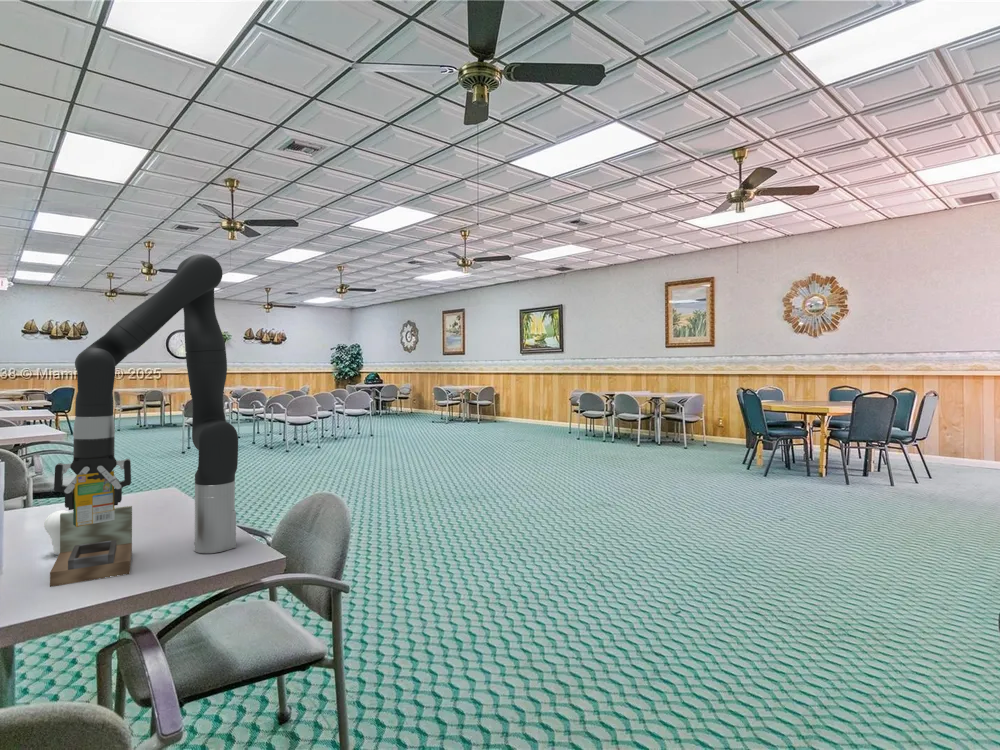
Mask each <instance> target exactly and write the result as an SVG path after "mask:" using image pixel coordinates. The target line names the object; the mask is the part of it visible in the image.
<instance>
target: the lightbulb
mask: <svg viewBox="0 0 1000 750" xmlns="http://www.w3.org/2000/svg"><path fill="white" fill-rule="evenodd" d="M69 512H70V510H63V509H61V510H56V511H53V512H51V513H50V514H49V515H48V516H47V517H46V519H45V520H44V524H43V525H44V526H43V527H44V530H45V531H46V533H47V534H48V535H49V538H50V539H51V544H52V547H53V548H52V549H53V553H54V555H57V556H59V554H60V514H61V513H69Z"/></svg>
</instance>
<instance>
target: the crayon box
mask: <svg viewBox="0 0 1000 750" xmlns="http://www.w3.org/2000/svg"><path fill="white" fill-rule="evenodd" d="M110 474H111V475H112V476H114V475H115V470H112V471H111V473H110ZM94 475H98V473H90V474H86V475H85V474H82V475H76V474H75V477H76V483H75V488H74V489H73V511H72V512H73V525H75V526H76V527H80V526H84V525H89V524H95V523H101V522H106V521H114V520H115V509H114V508H115V506H114V489H115V487H114V486H113V485H112V484H111V483H110V482H109V481H108V480H107V479H106V478H104V479H102V480H100V479H99V478H98V479H87V477H89V476H94Z"/></svg>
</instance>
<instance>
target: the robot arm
mask: <svg viewBox="0 0 1000 750" xmlns="http://www.w3.org/2000/svg"><path fill="white" fill-rule="evenodd" d="M222 279H223V268H222V265H221V263H220V262H219V261H218V260H217V259H216V258H214V257H212V256H210V255H208V254H194V255H191V256H188V257H187V258H185V259H184V260H183V261H181V262H180V264H179V265H178V267H177V269H176V274H175V275H174V276H173V277H172V278H171V280H170V281H168V282H167V283H166V285H164V286H163V287H162V288H161V289H159V290H158V291H157V292H156V293H154V294H153V295H152V296H151V297H149V298H148V299H146V300H145V301H143V302H142V303H141V304H139V305H137V306H136V307H135V308H133V309H132V310H131V311H130V312H128V313H127V314H126V315H125V316H123V317H122V318H121V319H120V320H119V321H117V322H116V323H115V324H114V325H113V326H112V327H111V328H109V330H108V331H107V332H106V333H105V334H104V335H102V336H100V338H98V339H97V340H96V341H94V342H93V343H92V344H90V345H89V346H87V347H86V348H85V349H83V350H82V351H81V352H80V353H79V354H78V355H77V356H76V357H75V361H74V366H75V367H74V368H75V370H76V375H77V376H76V381H77V384H76V385H77V392H76V395H75V402H74V404H75V405H74V407H75V408H74V424H73V432H72V436H73V449H72V450H73V457H72V458H73V460H72V462H71V463H62V462H59V463H57V464H56V465H55V466H54V480H53V481H54V483H53V491H54V492H56V493H57V492H59V493H63V494H64V507H65V508H66V509H68V511H72V510H73V489H74V488H75V483H76V475H82V474H85V475H86V474H90V473H98V475H94V476H89V477H87V479H98V478H99V479H100V480H102V479H104V478H106V479H107V480H108V481H109V482H110V483H111V484H112V485H113V486H114V507H115V506H118V505H119V503H121V502H122V498H123V496H122V494H123V492H122V491H123V488H125V487H127V486H130V485H131V484H132V468H131V467H132V464H131V462H132V461H131V459H130V458H125V459H121V460H117V459H116V458H115V446H116V445H115V439H116V438H115V435H116V431H115V429H116V428H115V425H116V424H115V420H114V417H115V416H114V392H113V391H114V386H115V379H116V378H115V376H116V366H117V365H118V364H119V363H121V362H122V361H123V360H124V359H125V358H126V357H128V355H130V354H131V353H134V352H135V351H136V350H138V349H139V348H140V347H142V346H143V345H144V344H145V343H146V342H147V341H149V340H150V339H151V338H152V337H153V336H154V335H155V334H157V332H159V330H161V329H162V328H163V327H164V326H165V325H166V324H167V323H169V321H170V320H172V318H173V317H174V316H176V315H177V313H179V312H180V311H181V310H183V319H184V320H183V322H184V323H183V327H184V328H183V330H184V334H183V335H184V351H185V352H184V353H185V361H186V362H185V363H186V369H187V377H188V384H189V390H190V395H191V403H192V404H191V405H192V420H191V421H192V425H191V440H192V444H193V446H194V448H196V450H197V451H198V458H197V459H198V463H197V466H198V467H197V470H196V471H195V474H194V541H193V543H194V552H196V553H199V554H214V553H221V552H225V551H229V550H231V549H236V548H237V544H236V543H237V511H236V508H235V507H236V506H235V505H236V502H235V501H236V498H235V497H236V495H235V494H236V493H235V492H236V473H237V469H238V463H239V460H238V459H239V435H238V432H237V429H236V428H235V426H233V425H232V424H231V423H229V422H227V420H226V416H225V413H226V412H225V408H224V390H225V385H226V381H227V373H228V362H227V361H228V359H227V350H226V349H227V348H226V344H225V343H226V342H225V338H224V336H223V332H222V329H221V327H220V323H219V321H218V318H217V314H216V309H215V308H216V306H215V288H217V287H218V286H219V285H220V284H221V281H222ZM117 466H119V468H120V469H121V470H123V471H124V472H123V474H124V475H123V477H124V480H121V481H120V480H119V478H118V477H117V476H116V475H115V474H114V476H112V475H111V474H110V473H111V471H114V469H115V468H116V467H117ZM69 469H70V470H72V472H73V473H75V477H74V478H73V479H72V480H71V482H70V483H69V484H68V485H63V482H64V481H63V479H64V474H67V472H68V470H69Z"/></svg>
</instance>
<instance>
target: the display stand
mask: <svg viewBox="0 0 1000 750" xmlns="http://www.w3.org/2000/svg"><path fill="white" fill-rule="evenodd" d="M114 509H115V520H114V521H106V522H101V523H95V524H89V525H84V526H80V527H76V526H75V525H73V511H69V513H61V514H60V554H59V555H57V558H56V559H55V562H54V564H53V566H52V567H51V570H50V572H49V588H50V587H51V586H52V587H58V586H62V585H70V584H76V583H83V582H87V581H88V582H89V581H93V580H94V579H95V580H100V579H99V578H101V579H106V578H105V577H108V578H111V577H110V576H114V577H118V576H117V575H120V576H124V575H123V574H126V575H130V573H131V565H132V558H131V557H132V556H133V555H132V554H133V505H129V506H128V505H127V506H118V507H117V506H116V507H114ZM52 587H51V588H52Z"/></svg>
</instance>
